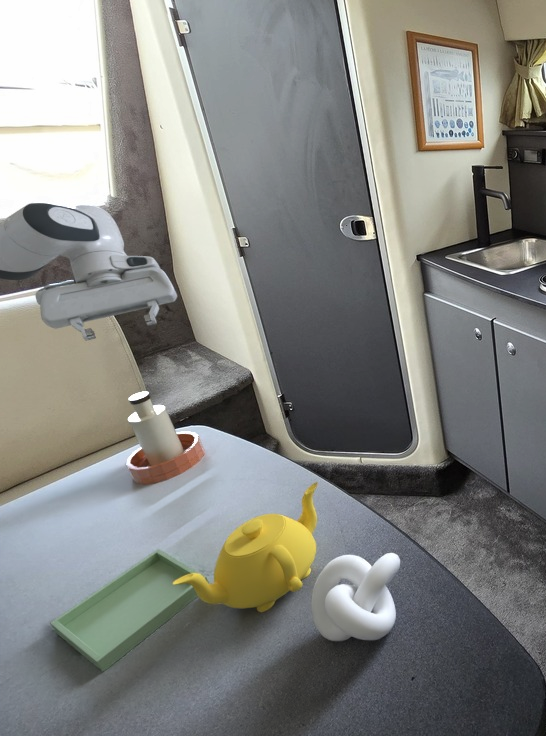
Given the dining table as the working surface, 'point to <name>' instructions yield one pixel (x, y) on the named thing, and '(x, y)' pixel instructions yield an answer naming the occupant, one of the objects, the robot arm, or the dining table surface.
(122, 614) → the tray
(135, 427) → the bottle
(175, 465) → the ring
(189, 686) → the dining table surface
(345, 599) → the white knot
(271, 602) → the teapot
